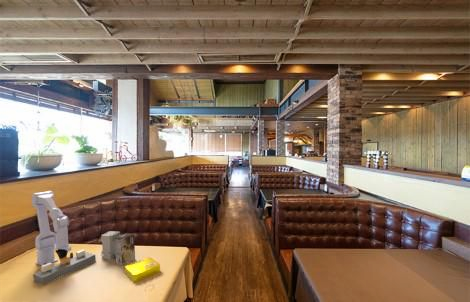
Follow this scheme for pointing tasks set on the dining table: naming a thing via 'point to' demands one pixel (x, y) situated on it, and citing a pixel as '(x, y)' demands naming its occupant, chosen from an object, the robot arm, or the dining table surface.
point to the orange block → (65, 260)
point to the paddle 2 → (80, 253)
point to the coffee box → (124, 249)
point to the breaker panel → (63, 269)
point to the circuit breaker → (109, 244)
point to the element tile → (142, 269)
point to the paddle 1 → (46, 267)
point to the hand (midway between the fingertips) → (63, 261)
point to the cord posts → (70, 257)
